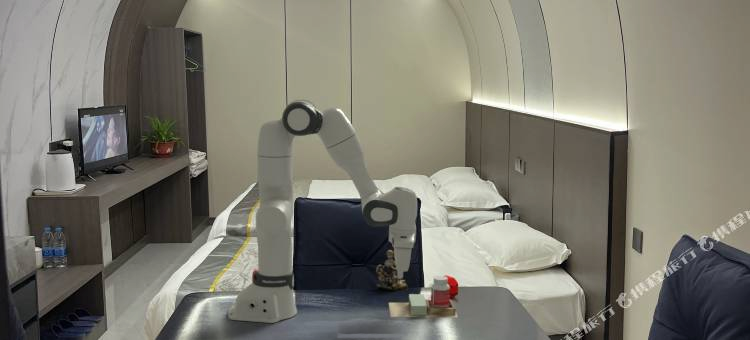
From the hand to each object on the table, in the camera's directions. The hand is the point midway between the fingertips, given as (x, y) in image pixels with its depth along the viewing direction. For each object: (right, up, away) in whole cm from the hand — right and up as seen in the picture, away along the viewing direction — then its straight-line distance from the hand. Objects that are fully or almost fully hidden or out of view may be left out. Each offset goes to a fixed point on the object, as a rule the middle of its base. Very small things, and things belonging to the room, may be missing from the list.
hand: (399, 276), depth 224 cm
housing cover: (+6, -11, +2) cm, 13 cm away
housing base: (+8, -13, +2) cm, 15 cm away
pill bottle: (+14, -12, +2) cm, 18 cm away
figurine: (-2, -9, +26) cm, 28 cm away
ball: (+17, -11, +18) cm, 27 cm away
